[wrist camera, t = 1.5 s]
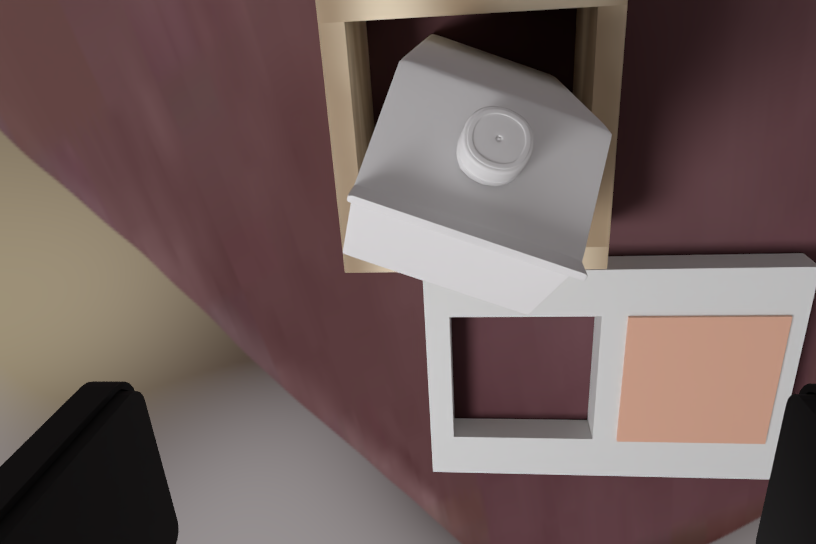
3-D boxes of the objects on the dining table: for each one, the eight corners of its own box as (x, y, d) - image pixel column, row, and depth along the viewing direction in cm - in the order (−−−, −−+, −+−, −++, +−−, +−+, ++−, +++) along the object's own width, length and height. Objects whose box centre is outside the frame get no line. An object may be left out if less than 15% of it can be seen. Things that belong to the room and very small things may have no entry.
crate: (602, -23, 31) (629, -27, 26) (587, 228, 36) (606, 269, 31) (341, -6, 33) (314, -6, 27) (363, 233, 38) (344, 272, 32)
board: (802, 253, 36) (822, 268, 34) (759, 458, 42) (773, 481, 40) (424, 259, 38) (422, 273, 36) (434, 452, 44) (432, 473, 42)
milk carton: (507, 196, 36) (538, 378, 19) (392, 157, 36) (316, 304, 19) (556, 76, 33) (645, 160, 16) (431, 32, 33) (383, 70, 16)
